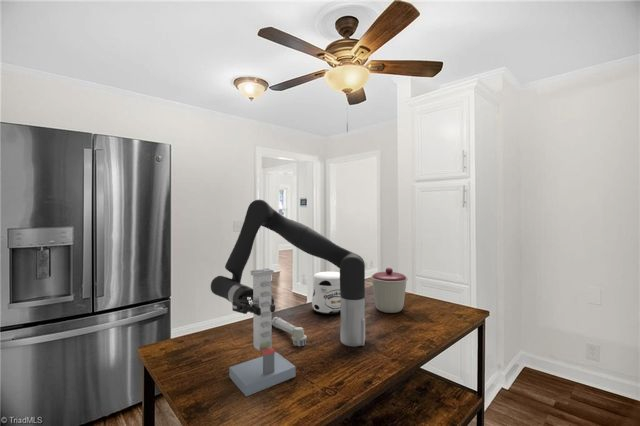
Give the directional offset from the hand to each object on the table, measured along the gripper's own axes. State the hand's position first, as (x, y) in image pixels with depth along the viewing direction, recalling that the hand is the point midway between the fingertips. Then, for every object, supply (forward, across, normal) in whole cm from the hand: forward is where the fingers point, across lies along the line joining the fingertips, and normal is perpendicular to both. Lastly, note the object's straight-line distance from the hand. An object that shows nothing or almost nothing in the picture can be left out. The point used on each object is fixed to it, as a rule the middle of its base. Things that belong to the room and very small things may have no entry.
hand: (266, 310), depth 89 cm
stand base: (-3, 0, +21) cm, 21 cm away
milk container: (-36, +53, +21) cm, 68 cm away
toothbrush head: (-24, +22, +22) cm, 39 cm away
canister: (-19, +78, +21) cm, 83 cm away
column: (-3, 0, +12) cm, 12 cm away
